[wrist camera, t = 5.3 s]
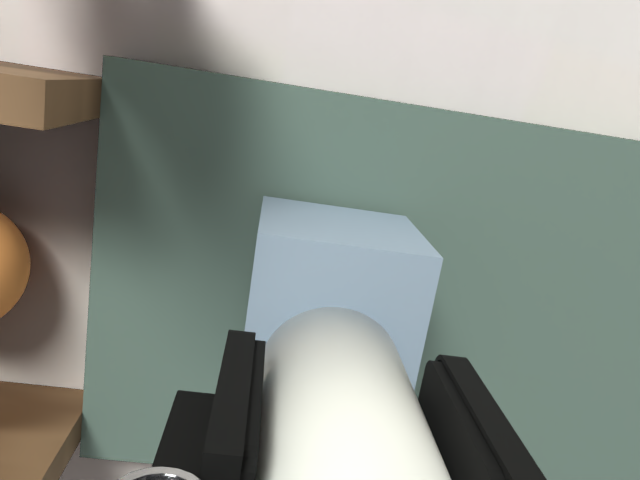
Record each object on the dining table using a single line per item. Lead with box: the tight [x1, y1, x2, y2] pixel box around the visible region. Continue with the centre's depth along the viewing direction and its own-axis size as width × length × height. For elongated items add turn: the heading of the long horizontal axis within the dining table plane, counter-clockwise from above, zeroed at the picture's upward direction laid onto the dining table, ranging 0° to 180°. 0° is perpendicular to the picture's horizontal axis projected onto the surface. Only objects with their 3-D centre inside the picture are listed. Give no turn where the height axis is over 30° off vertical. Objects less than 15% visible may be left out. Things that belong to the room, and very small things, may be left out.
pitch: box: [80, 55, 640, 480], centre depth 18 cm, size 20×12×1 cm, turn 81°
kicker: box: [245, 196, 451, 480], centre depth 12 cm, size 4×6×11 cm, turn 171°
